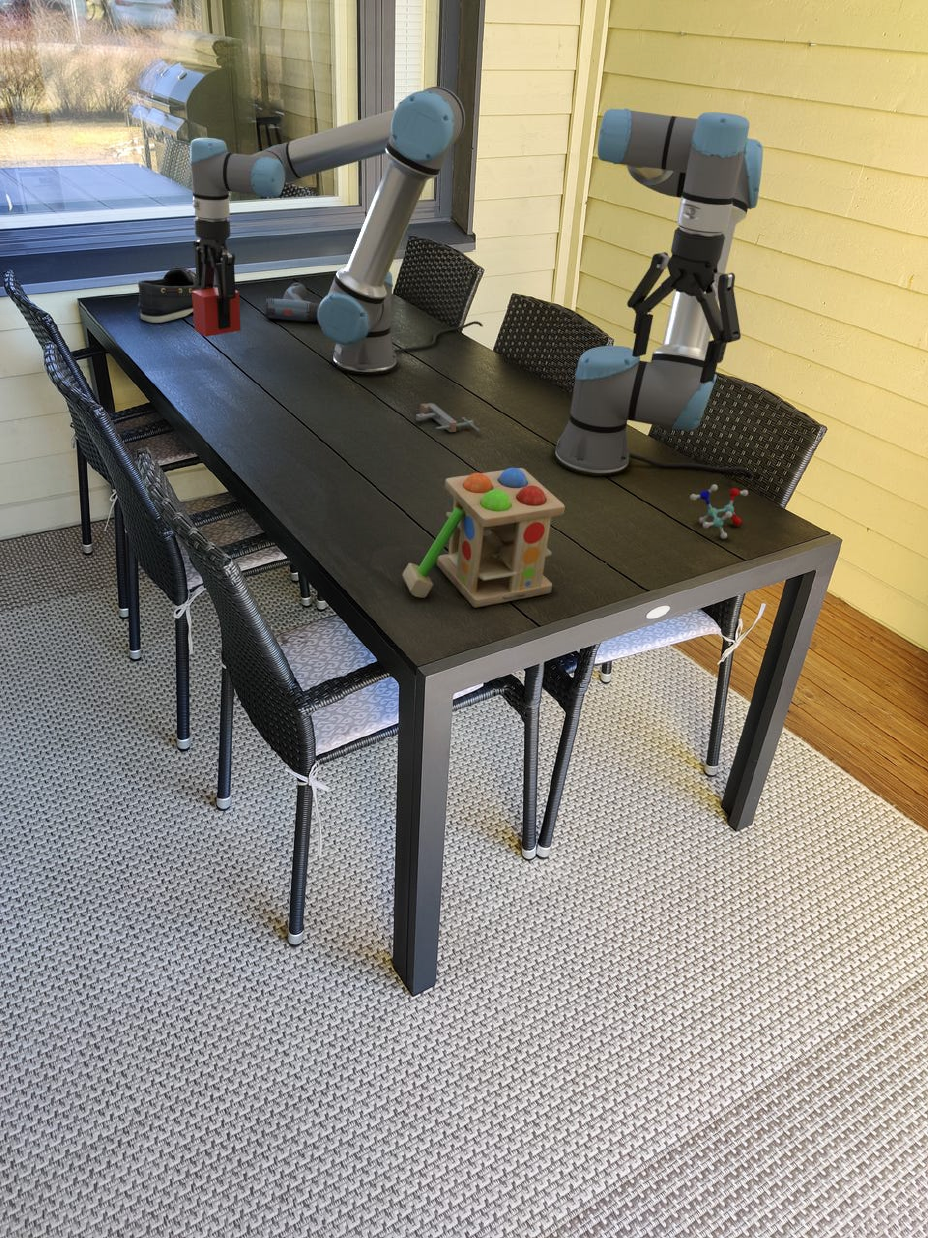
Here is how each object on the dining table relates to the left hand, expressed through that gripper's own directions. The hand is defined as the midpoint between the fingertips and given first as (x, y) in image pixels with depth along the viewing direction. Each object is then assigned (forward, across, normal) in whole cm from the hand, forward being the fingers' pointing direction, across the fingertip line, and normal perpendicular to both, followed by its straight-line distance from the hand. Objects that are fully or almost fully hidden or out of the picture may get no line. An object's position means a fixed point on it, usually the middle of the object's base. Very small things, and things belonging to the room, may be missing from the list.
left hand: (217, 323), depth 226 cm
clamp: (+9, +56, +21) cm, 60 cm away
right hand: (-23, +113, +15) cm, 116 cm away
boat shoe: (+10, -40, +15) cm, 44 cm away
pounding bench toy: (+9, +106, -19) cm, 108 cm away
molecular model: (+9, +118, +32) cm, 123 cm away
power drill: (+9, -21, +40) cm, 46 cm away
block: (+2, 0, 0) cm, 2 cm away
